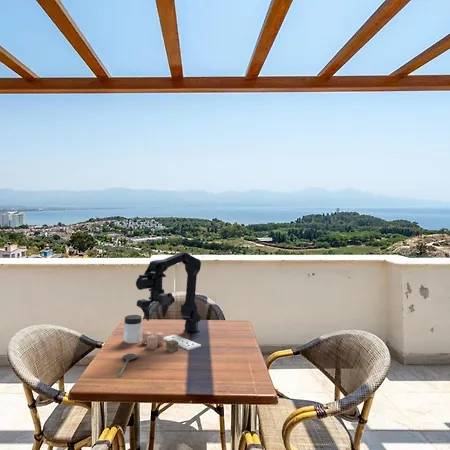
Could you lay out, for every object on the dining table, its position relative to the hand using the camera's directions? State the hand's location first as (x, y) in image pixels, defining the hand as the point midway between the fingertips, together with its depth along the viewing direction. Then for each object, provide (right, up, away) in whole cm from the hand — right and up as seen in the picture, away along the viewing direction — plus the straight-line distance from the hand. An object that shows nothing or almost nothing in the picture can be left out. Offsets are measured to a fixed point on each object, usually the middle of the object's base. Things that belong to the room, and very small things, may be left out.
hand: (155, 318), depth 184 cm
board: (+12, -12, +2) cm, 17 cm away
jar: (-12, -12, +4) cm, 17 cm away
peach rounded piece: (-4, -12, +2) cm, 13 cm away
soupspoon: (-8, -14, -26) cm, 30 cm away
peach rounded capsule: (+1, -12, 0) cm, 12 cm away
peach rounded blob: (-1, -12, -5) cm, 13 cm away
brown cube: (+9, -13, -8) cm, 17 cm away
